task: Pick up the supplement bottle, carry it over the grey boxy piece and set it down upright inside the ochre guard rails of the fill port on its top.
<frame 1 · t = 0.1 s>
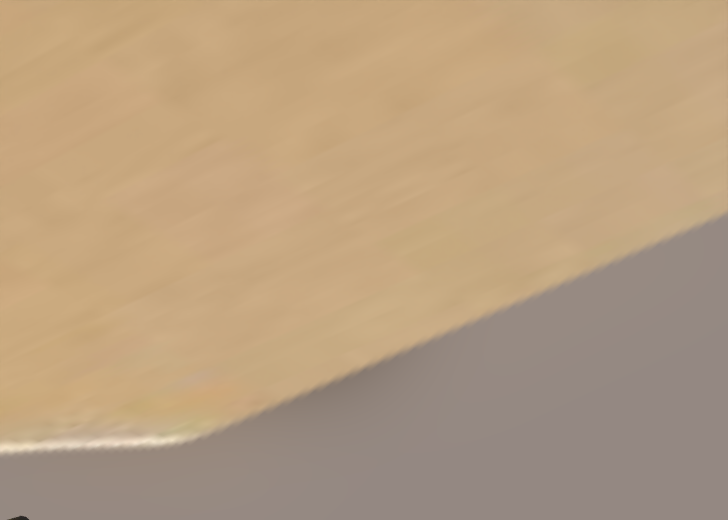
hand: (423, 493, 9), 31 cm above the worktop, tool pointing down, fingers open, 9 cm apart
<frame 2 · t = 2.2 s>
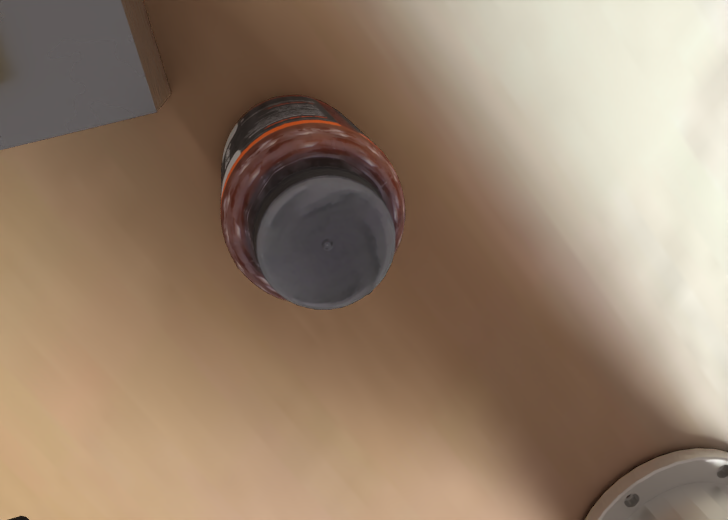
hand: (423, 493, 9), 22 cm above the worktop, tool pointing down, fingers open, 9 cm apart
supplement bottle: (292, 163, 30), on the worktop
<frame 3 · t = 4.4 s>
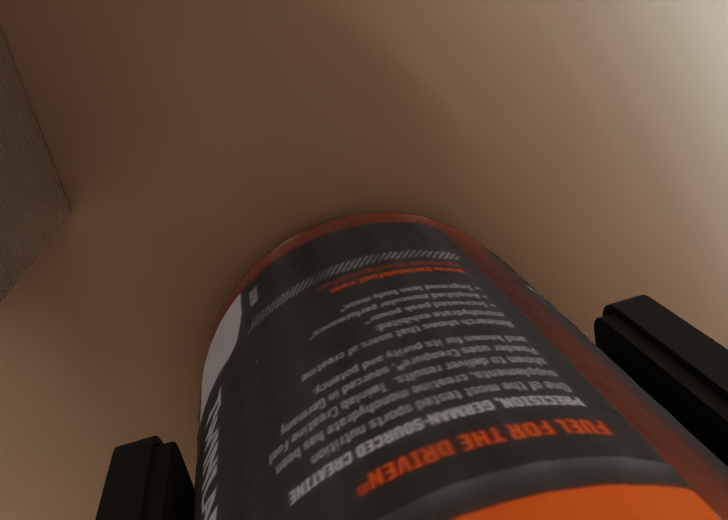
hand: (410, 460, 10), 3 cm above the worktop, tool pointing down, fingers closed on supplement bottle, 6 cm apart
supplement bottle: (367, 355, 13), on the worktop, touching gripper
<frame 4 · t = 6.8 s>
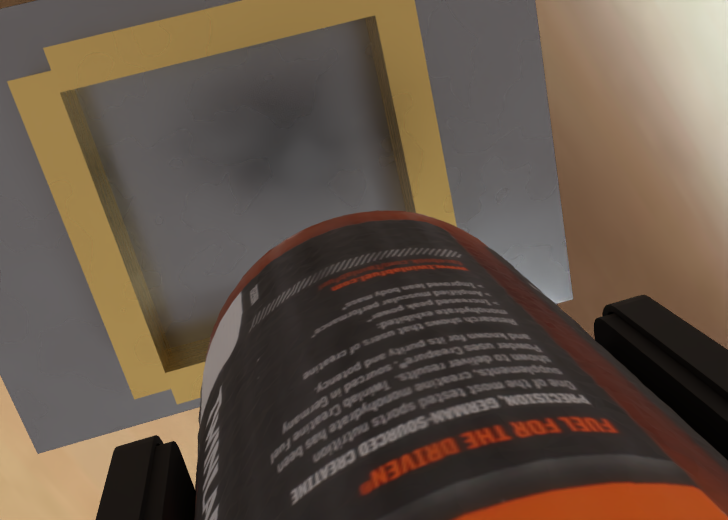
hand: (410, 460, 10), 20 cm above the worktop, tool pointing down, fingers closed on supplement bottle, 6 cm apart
grey boxy piece: (256, 157, 28), on the worktop
supplement bottle: (368, 353, 13), point 17 cm above the worktop, touching gripper
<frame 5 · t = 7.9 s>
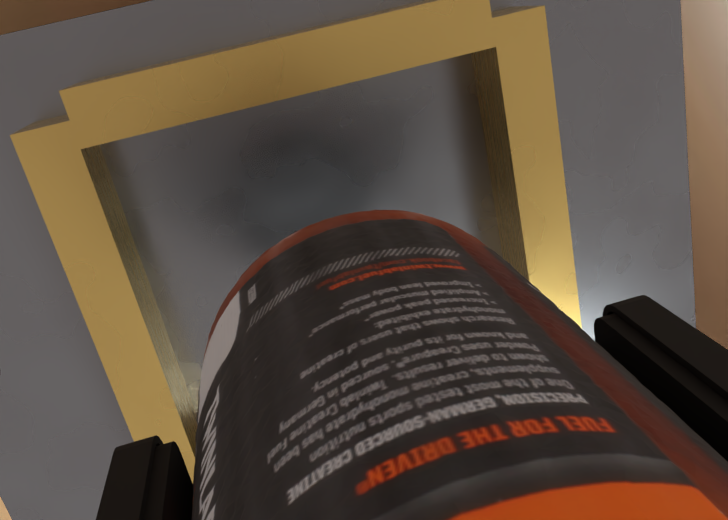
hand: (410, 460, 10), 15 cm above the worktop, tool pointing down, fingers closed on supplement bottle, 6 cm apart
grey boxy piece: (307, 204, 24), on the worktop
supplement bottle: (366, 353, 13), point 11 cm above the worktop, touching gripper
when the fingers open (10 cm above the worktop, at t = 9.1 s): supplement bottle drops 1 cm, resting on grey boxy piece.
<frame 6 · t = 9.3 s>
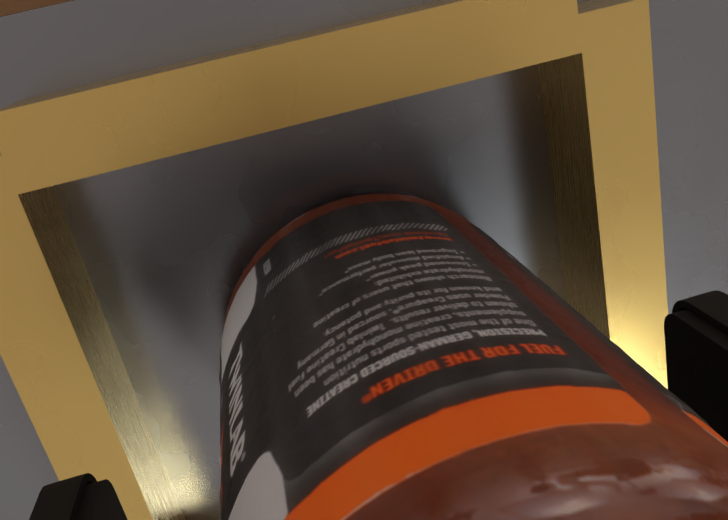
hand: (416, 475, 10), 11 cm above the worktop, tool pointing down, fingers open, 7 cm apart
grey boxy piece: (318, 238, 20), on the worktop
supplement bottle: (367, 324, 14), point 6 cm above the worktop, touching grey boxy piece
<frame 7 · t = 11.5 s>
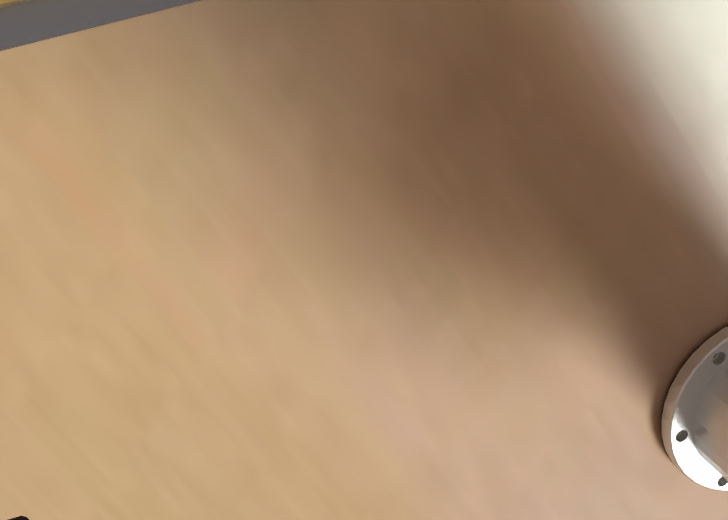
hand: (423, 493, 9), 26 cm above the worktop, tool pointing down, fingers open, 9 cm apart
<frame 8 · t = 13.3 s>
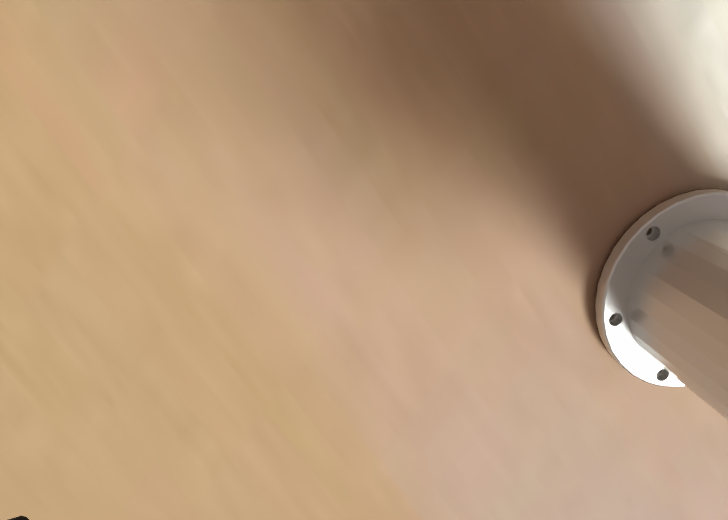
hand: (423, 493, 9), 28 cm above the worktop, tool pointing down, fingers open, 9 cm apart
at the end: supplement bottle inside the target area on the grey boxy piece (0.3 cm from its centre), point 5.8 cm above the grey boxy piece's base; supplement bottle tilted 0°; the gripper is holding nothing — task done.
